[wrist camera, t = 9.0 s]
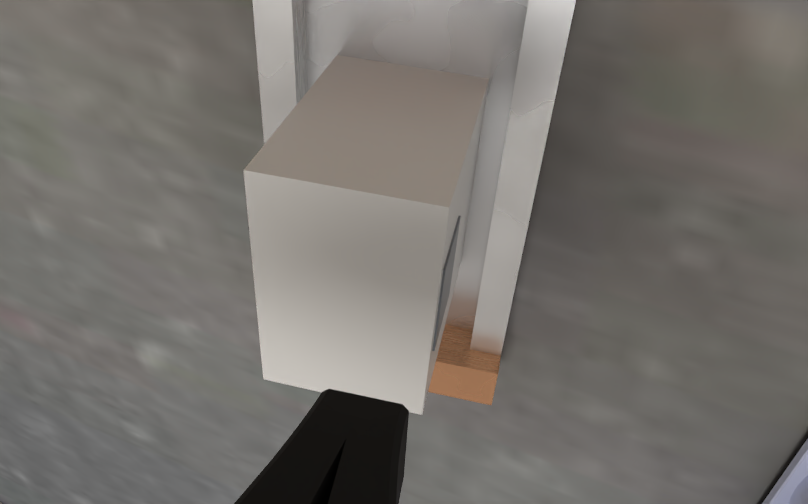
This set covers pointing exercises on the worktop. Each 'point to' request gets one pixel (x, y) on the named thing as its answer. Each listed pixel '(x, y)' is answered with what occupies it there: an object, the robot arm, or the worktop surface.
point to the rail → (499, 142)
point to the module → (363, 227)
